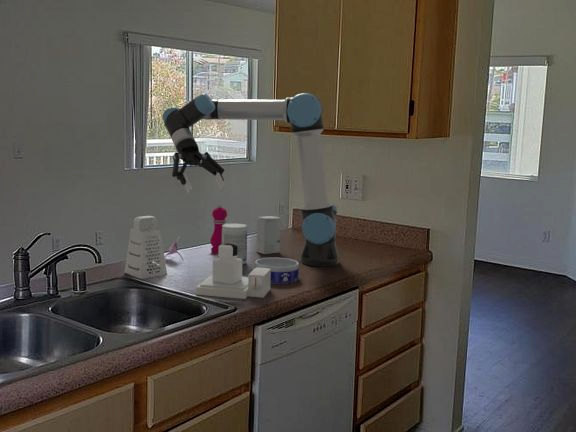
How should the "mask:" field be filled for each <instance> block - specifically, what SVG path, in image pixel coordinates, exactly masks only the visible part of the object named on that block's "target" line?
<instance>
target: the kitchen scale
mask: <svg viewBox="0 0 576 432" xmlns="http://www.w3.org/2000/svg"><path fill="white" fill-rule="evenodd" d="M270 281H271V269H270V268H257V267H256V268H255V267H254V269H252V271H251V272H250V273H249V274H248V276H242V280H240V281H238V282H236V283H234V284H232V285H231V284H224V283H217V282H213V274H211V275H209V276H208V277H207V278H206V279H205V280H203V281H202V282H200V283H198V285H196V286H195V295H197V296H209V297H220V298H231V299H243V300H246V299H247V298H248V297H251V298H262V299H263V298H265V296H266V295H267V294H268V293H269V292H270V291H271V283H270Z"/></svg>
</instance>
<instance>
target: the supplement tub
mask: <svg viewBox="0 0 576 432" xmlns="http://www.w3.org/2000/svg"><path fill="white" fill-rule="evenodd" d="M247 227H248V226H247V224H244V223H243V224H242V223H225V224H224V225H222V244H227V243H228V244H235V245H236V246H237V247H238V250H237V258H240V259H242V266H243V265H245V264H246V263H247V261H248V258H247V257H248V228H247Z"/></svg>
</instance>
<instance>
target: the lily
mask: <svg viewBox="0 0 576 432" xmlns="http://www.w3.org/2000/svg"><path fill="white" fill-rule="evenodd" d="M181 237H182V235H181V236H178V237H177V238H176V240H175V241H174V242H172V245H169V246H167V248H168V252H167V253H166V255H165V254H164V256H165V259H166V258H167V256H170V255H172V254H178V255H179V256H180V258H181V259H182V261H185V260H184V258H183V257H182V255H181V254H180V253H179V251H178V242H179V240H180V238H181Z"/></svg>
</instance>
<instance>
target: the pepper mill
mask: <svg viewBox="0 0 576 432" xmlns="http://www.w3.org/2000/svg"><path fill="white" fill-rule="evenodd" d="M211 213H212V214H211V216H212V218H213V223H212V224H214V229H213V233H212V235H211V237H210V245H211V246H212V247H211V248H210V251H211V253H212V254H216V255H218V252H219V245H221V244H222V225H224V224H227V222H226V221H227V220H226V218H227V217H228V211H227V210H226V208H224V207H223V205H222V204H221V203H218V204H217V207H215V208H214V209H213V210H212V212H211Z"/></svg>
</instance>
